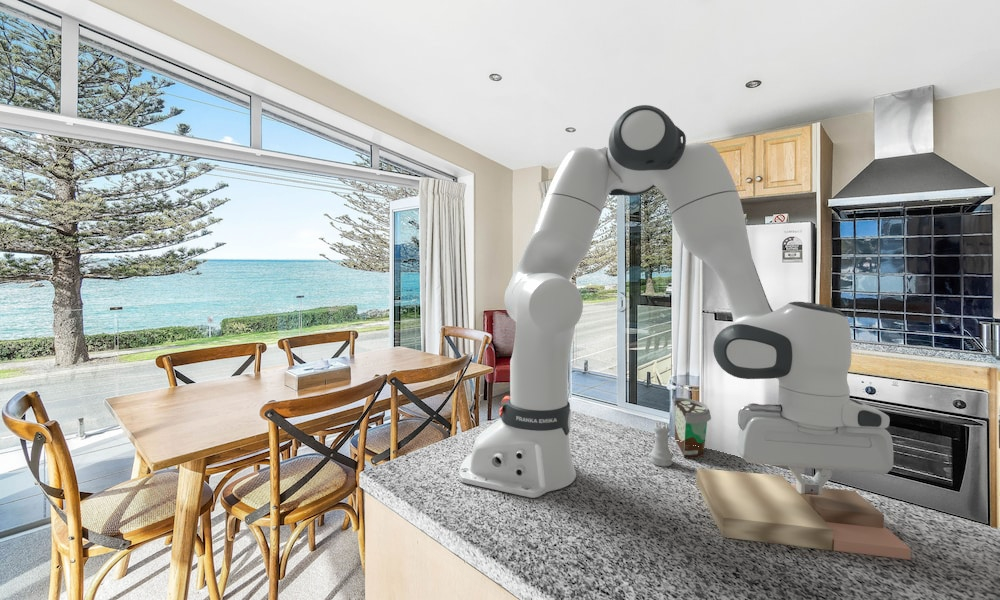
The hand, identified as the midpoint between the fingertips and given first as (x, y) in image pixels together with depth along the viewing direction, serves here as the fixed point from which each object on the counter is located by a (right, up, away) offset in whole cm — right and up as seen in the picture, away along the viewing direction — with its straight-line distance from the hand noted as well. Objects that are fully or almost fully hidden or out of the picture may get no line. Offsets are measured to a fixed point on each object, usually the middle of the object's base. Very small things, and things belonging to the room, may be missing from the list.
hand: (808, 493), depth 66 cm
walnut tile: (+4, -3, -1) cm, 5 cm away
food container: (-6, -3, +26) cm, 27 cm away
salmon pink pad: (+4, -4, -1) cm, 6 cm away
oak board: (-7, -4, +2) cm, 9 cm away
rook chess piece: (-16, -3, +20) cm, 26 cm away
